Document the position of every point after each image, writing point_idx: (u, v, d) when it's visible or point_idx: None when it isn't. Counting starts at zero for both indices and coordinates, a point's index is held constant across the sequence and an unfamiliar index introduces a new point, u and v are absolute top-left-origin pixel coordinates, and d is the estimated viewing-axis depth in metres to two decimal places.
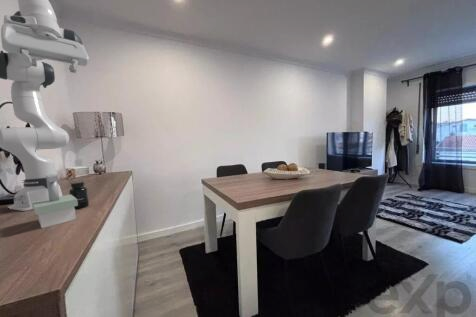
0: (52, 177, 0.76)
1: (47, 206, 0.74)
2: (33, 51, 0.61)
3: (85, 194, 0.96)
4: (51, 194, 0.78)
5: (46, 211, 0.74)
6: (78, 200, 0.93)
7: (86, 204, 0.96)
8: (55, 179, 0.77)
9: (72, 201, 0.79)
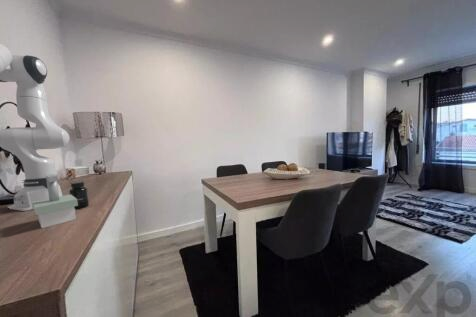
0: (52, 177, 0.76)
1: (47, 206, 0.74)
2: None
3: (85, 194, 0.96)
4: (51, 194, 0.78)
5: (46, 211, 0.74)
6: (78, 200, 0.93)
7: (86, 204, 0.96)
8: (55, 179, 0.77)
9: (72, 201, 0.79)
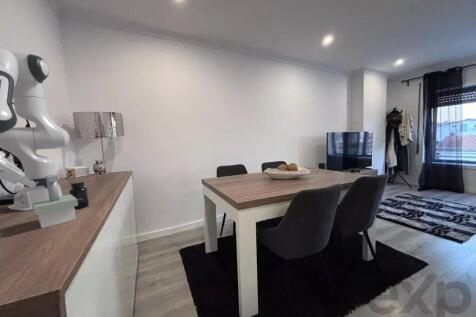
0: (52, 177, 0.76)
1: (47, 206, 0.74)
2: None
3: (85, 194, 0.96)
4: (51, 194, 0.78)
5: (46, 211, 0.74)
6: (78, 200, 0.93)
7: (86, 204, 0.96)
8: (55, 179, 0.77)
9: (72, 201, 0.79)
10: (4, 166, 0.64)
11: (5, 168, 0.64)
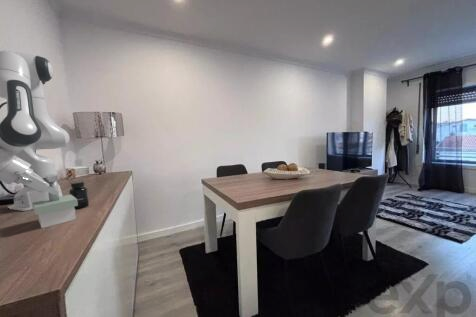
0: (52, 177, 0.76)
1: (47, 206, 0.74)
2: None
3: (85, 194, 0.96)
4: (51, 194, 0.78)
5: (46, 211, 0.74)
6: (78, 200, 0.93)
7: (86, 204, 0.96)
8: (55, 179, 0.77)
9: (72, 201, 0.79)
10: (32, 177, 0.68)
11: (33, 178, 0.68)
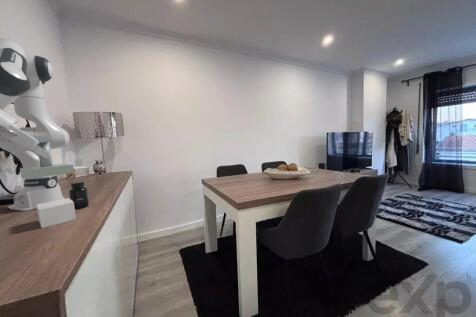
0: (43, 137, 0.64)
1: (37, 170, 0.62)
2: None
3: (85, 194, 0.96)
4: (42, 158, 0.66)
5: (35, 176, 0.62)
6: (78, 200, 0.93)
7: (86, 204, 0.96)
8: (47, 139, 0.65)
9: (67, 167, 0.67)
10: (17, 130, 0.56)
11: (19, 132, 0.56)
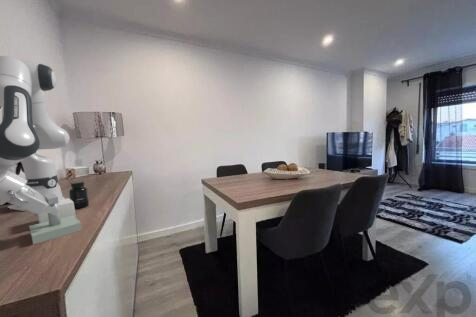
0: (52, 199, 0.66)
1: (46, 233, 0.64)
2: None
3: (85, 194, 0.96)
4: (51, 218, 0.68)
5: (45, 239, 0.64)
6: (78, 200, 0.93)
7: (86, 204, 0.96)
8: (56, 201, 0.67)
9: (75, 225, 0.69)
10: (28, 196, 0.58)
11: (29, 198, 0.58)
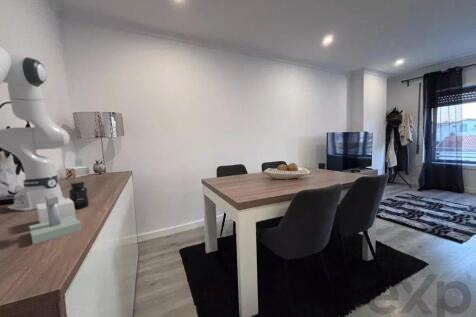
0: (52, 199, 0.66)
1: (46, 233, 0.64)
2: None
3: (85, 194, 0.96)
4: (51, 218, 0.68)
5: (45, 239, 0.64)
6: (78, 200, 0.93)
7: (86, 204, 0.96)
8: (56, 201, 0.67)
9: (75, 225, 0.69)
10: None
11: None
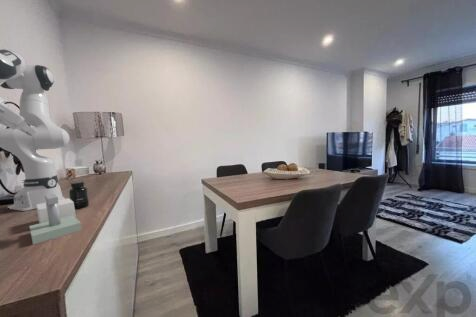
0: (52, 199, 0.66)
1: (46, 233, 0.64)
2: None
3: (85, 194, 0.96)
4: (51, 218, 0.68)
5: (45, 239, 0.64)
6: (78, 200, 0.93)
7: (86, 204, 0.96)
8: (56, 201, 0.67)
9: (75, 225, 0.69)
10: (5, 107, 0.65)
11: (6, 109, 0.65)
